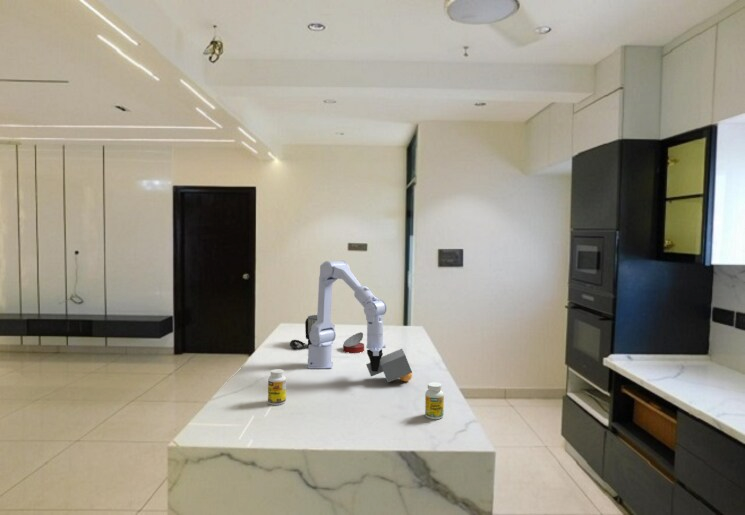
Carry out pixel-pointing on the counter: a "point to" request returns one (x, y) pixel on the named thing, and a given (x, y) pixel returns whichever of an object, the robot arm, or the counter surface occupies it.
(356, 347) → the canned food
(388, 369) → the grey blocky piece
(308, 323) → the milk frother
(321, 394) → the counter surface
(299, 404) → the counter surface
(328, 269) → the robot arm
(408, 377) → the ball
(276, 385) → the supplement bottle
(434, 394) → the supplement bottle
